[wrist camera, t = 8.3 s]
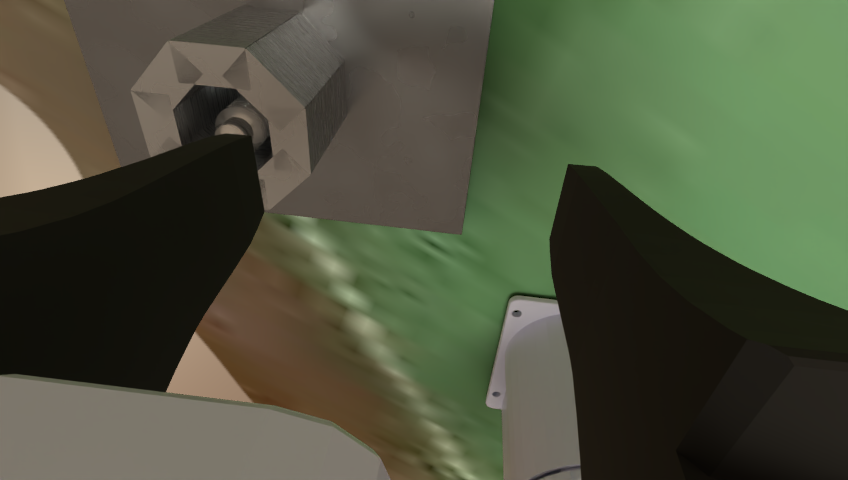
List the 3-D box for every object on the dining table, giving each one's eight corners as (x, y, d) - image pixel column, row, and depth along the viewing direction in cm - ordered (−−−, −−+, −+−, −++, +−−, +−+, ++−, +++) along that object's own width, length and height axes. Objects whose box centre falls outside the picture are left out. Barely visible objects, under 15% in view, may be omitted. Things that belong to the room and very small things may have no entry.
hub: (347, 151, 21) (314, 215, 17) (224, 138, 21) (162, 197, 17) (343, 15, 17) (301, 53, 13) (198, 1, 18) (113, 35, 14)
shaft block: (462, 222, 23) (456, 304, 19) (143, 186, 24) (62, 256, 19) (503, -71, 16) (509, -55, 12) (48, -110, 17) (-114, -110, 12)
